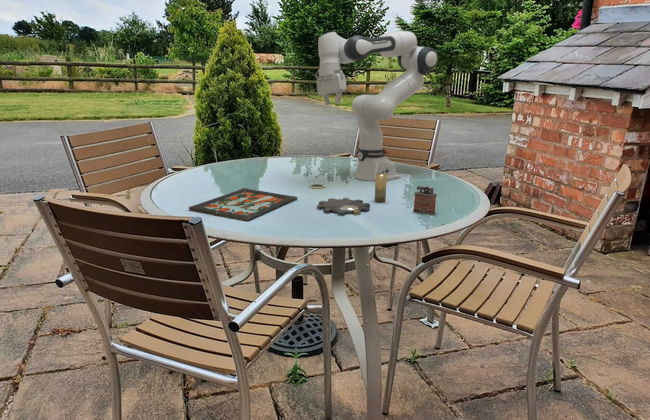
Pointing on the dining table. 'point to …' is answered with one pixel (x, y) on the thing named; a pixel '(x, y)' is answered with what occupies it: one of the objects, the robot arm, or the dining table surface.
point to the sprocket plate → (343, 206)
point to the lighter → (424, 200)
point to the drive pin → (380, 187)
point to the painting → (244, 204)
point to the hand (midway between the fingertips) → (332, 104)
